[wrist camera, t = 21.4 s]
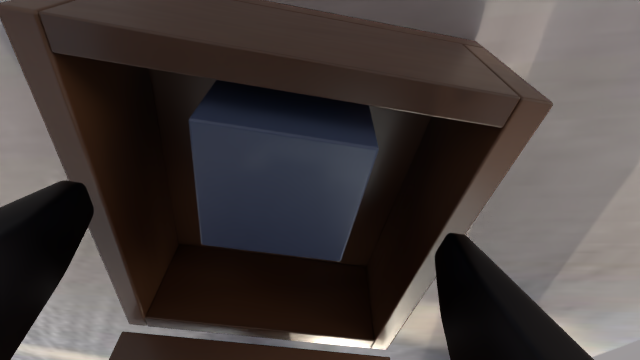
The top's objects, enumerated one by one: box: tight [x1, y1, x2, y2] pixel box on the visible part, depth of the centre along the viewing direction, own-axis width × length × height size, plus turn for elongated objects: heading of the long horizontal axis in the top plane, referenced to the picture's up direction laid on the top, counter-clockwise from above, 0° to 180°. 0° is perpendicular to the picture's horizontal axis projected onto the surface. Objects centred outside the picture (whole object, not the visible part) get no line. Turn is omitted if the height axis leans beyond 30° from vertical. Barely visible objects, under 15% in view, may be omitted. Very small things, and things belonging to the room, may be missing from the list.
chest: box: [0, 0, 553, 350], centre depth 12 cm, size 13×12×5 cm
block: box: [189, 80, 379, 261], centre depth 10 cm, size 4×4×4 cm
